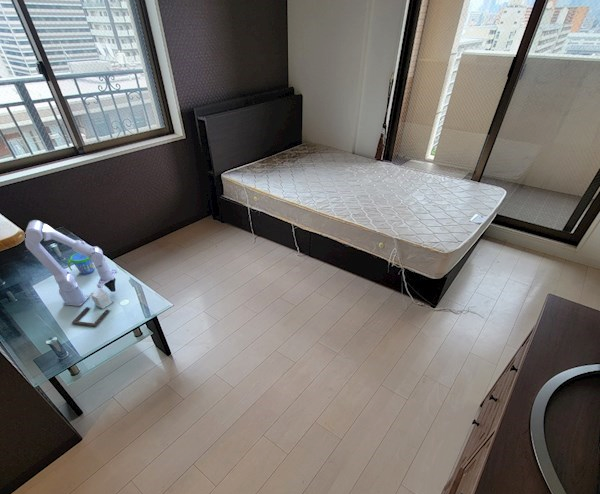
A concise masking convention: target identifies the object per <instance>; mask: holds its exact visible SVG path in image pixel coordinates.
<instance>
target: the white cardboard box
mask: <svg viewBox="0 0 600 494" xmlns="http://www.w3.org/2000/svg"><path fill="white" fill-rule="evenodd" d="M89 295H90V296H89V297H91V299H92V301H93V303H94V305H95V306H96V307H98V308H100V309H102V310H103V309H105V308H106V307H108V306H109V305H111V304H112V303H113V302H112V299H111V298H110V295H109V293H108V291H106V290H104V289H103V288H98V289H96V290H95V291H92V292H91V293H89Z"/></svg>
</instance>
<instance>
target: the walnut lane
mask: <svg viewBox="0 0 600 494" xmlns="http://www.w3.org/2000/svg"><path fill="white" fill-rule="evenodd" d="M89 310H90V308H89V307H88V306H87V307H84V309H83V310H82V311H81V312H80V313H79V314H78V315H77V316H76V317H75V318H74V319H73V320H72V321H71V324H72V325H77V326H85V327H93V328H96V327H97V326H98V325H99V324H100V323H101V321H103V319H104V318H105V317H106V316H107V315H108V314H109V313H110V310H109V309H105V310H104V311H103V313H102V314H100V316H99V317H98V318H97V319H96V321H94V323H93V322H85V321H80V320H81V319H82V318H83V316H85V315H86V313H87V312H88V311H89Z"/></svg>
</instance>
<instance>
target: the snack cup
mask: <svg viewBox="0 0 600 494" xmlns="http://www.w3.org/2000/svg"><path fill="white" fill-rule="evenodd" d="M71 263H72V264H73V265H74V266H75V267H76V269H77V270H78V271H79V273H80V274H83V275H88V274H91V273H93V272H94V270H95V266H94V263H93V262H92V261H90V258H88V257H86V256H84V255H82V254H79V253H77V252H75V253H74V254H72V255H71V256H70V258H69V260H68V261H67V266H68V268H69V270H70V271H71V272H72V271H73V269H72V268H71V265H70V264H71Z"/></svg>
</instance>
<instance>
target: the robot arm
mask: <svg viewBox="0 0 600 494" xmlns="http://www.w3.org/2000/svg"><path fill="white" fill-rule="evenodd" d="M24 234H26V238H24V244H25V247H26V249H27V250H28V251H29V252H30V253H31V254H32V255H33V256H34V257H35V258H36V259H37V260H38V261H39V263H41V264H42V265H43V266H44V267H45V268H46V269H47V271H48V272H49V273H51V275H52V276H53V277H54V280H55V283H56V284H57V285H58V288H59V289H58V293H59V295H60V297H61V299H62V300H63V302H64V303H63V305H69V306H74V307H75V306H76V307H81V306H82V305H83V304H84V303H85V302H86V301H87V300H88V299H89V298H90V296H89V295H84V293H83V291H82V289H81V287H80V286H79V284H78V282H76V276H75V274H74V273H72V272H70V271H69V270H68V269H67V268H63V267H62V265H61V264H60V263H58V261H57V260H56V259H55V258H54V257H53V256H52V255H51V254H50V252H48V250H47V249H46V248H45V247H44V246H43V245H42V244H41V242H42V241H43V242H47V241H51V240H53V241H56V242H58V243H61V244H63V245H65V246H67V247H70V248H71V249H72V251H73V252H75V253H79V254H82V255H84V256H86V257H88V258H90V261H92V262H93V265H94V269H96V272H97V274H98V276H99V280H98V282H97V284H96V286H97V288H98V289H103V286H104V287H106V288H107V289H108V290H109V291H110V292H112V293H115V292H116V277H115V274H117V273H118V271H117V269H114V268H113V269H111V268H110V267H109V265H108V262H107V261H106V258H105V257H104V252H103V250H102V248H100V247H99V246H92V245H90V244H88V243H86V241H84V240H79V239H77V240H75V239H72V238H71V237H69V236H67V235H65V234H64V233H62V232H59V231H58V230H55V228H53V227H51V226H50V225H48V224H47V223H44V222H42V221H40V220H38V219H33V220H30V221H29V222H28V224H27V226H26V229H25V232H24Z"/></svg>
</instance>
